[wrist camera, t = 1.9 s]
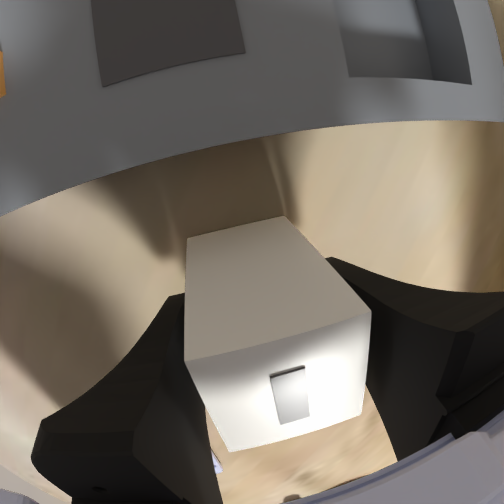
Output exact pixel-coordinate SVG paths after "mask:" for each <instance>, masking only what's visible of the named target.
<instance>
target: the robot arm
mask: <svg viewBox="0 0 504 504" xmlns="http://www.w3.org/2000/svg"><path fill="white" fill-rule="evenodd" d="M325 259H326V260H327V262H328V263H329V264H330V265H331V266H332V267H333V268H334V269H335V270H336V271H337V273H338V274H339V275H340V276H341V277H342V278H343V279H344V280H345V281H346V283H347V284H348V285H349V286H350V287H351V288H352V289H353V290H354V291H355V293H356V294H357V295H358V296H359V297H360V298H361V299H362V301H363V302H364V303H365V304H366V305H367V306H368V307H369V309H370V310H371V311H372V312H371V329H370V342H369V354H368V364H367V373H366V382H365V384H366V386H367V388H368V390H369V392H370V394H371V396H372V399H373V401H374V403H375V405H376V407H377V410H378V412H379V414H380V416H381V419H382V421H383V423H384V426H385V428H386V431H387V433H388V436H389V438H390V441H391V444H392V446H393V449H394V452H395V455H396V458H397V461H398V462H396V463H394V464H392V465H390V466H388V467H386V468H383V469H381V470H379V471H377V472H374V473H372V474H370V475H367V476H365V477H362V478H360V479H357V480H355V481H352V482H349V483H347V484H344V485H341V486H338V487H336V488H333V489H330V490H327V491H324V492H321V493H317V494H314V495H311V496H307V497H304V498H300V499H297V500H293V501H289V502H285V503H281V504H504V292H488V293H470V292H454V291H445V290H438V289H431V288H425V287H421V286H416V285H412V284H408V283H404V282H400V281H397V280H394V279H391V278H388V277H384V276H382V275H379V274H376V273H373V272H371V271H368V270H365V269H363V268H360V267H358V266H355V265H353V264H350V263H348V262H345V261H342V260H340V259H337V258H333V257H329V258H325ZM184 315H185V293H182V294H177V295H173V296H169V297H168V298H167V300H166V301H165V303H164V304H163V306H162V307H161V309H160V310H159V312H158V314H157V315H156V317H155V318H154V319H153V321H152V322H151V324H150V325H149V327H148V328H147V330H146V331H145V332H144V334H143V335H142V336H141V338H140V339H139V340H138V342H137V343H136V344H135V346H134V347H133V348H132V349H131V350H130V352H129V353H128V354H127V355H126V356H125V357H124V358H123V359H122V360H121V361H120V363H119V364H118V365H117V366H116V367H115V368H114V369H113V370H112V371H110V372H109V373H108V374H107V375H106V376H105V377H104V378H103V379H102V380H100V381H99V382H98V383H97V384H96V385H95V386H94V387H92V388H91V389H90V390H88V391H87V392H86V393H85V394H83V395H82V396H80V397H79V398H78V399H76V400H75V401H73V402H72V403H70V404H69V405H67V406H66V407H64V408H62V409H61V410H59V411H57V412H55V413H54V414H52V415H50V416H49V417H47V418H45V419H43V420H42V421H41V424H40V427H39V430H38V433H37V437H36V440H35V443H34V447H33V450H32V454H31V461H32V463H33V465H34V467H35V468H36V469H37V471H38V472H39V473H40V474H41V475H42V476H44V477H45V478H46V479H47V480H48V481H50V482H51V483H52V484H54V485H55V486H57V487H58V488H59V489H61V490H62V491H64V492H65V493H66V494H68V495H69V496H71V497H72V503H71V504H223V501H222V497H221V494H220V490H219V485H218V481H217V477H216V474H217V473H221V472H222V471H223V468H222V465H221V464H220V462H219V461H218V459H217V458H216V456H215V455H214V453H213V452H212V450H211V448H210V442H209V436H208V430H207V424H206V414H205V404H204V402H203V400H202V398H201V396H200V394H199V392H198V390H197V388H196V386H195V384H194V382H193V379H192V377H191V375H190V373H189V371H188V369H187V366H186V364H185V362H184ZM0 504H39V503H37V502H36V501H34V500H33V499H31V498H29V497H27V496H25V495H22V494H19V493H15V492H11V491H8V490H4V489H0Z"/></svg>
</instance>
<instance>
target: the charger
mask: <svg viewBox="0 0 504 504" xmlns="http://www.w3.org/2000/svg"><path fill="white" fill-rule="evenodd" d="M371 312H372V311H371V310H370V309H369V307H368V306H367V305H366V304H365V303H364V302H363V301H362V299H361V298H360V297H359V296H358V295H357V294H356V293H355V291H354V290H353V289H352V288H351V287H350V286H349V285H348V284H347V283H346V281H345V280H344V279H343V278H342V277H341V276H340V275H339V274H338V273H337V271H336V270H335V269H334V268H333V267H332V266H331V265H330V264H329V263H328V262H327V260H326V259H325V258H324V257H323V256H322V255H321V254H320V253H319V252H318V251H317V250H316V248H315V247H314V246H313V245H312V244H311V243H310V242H309V241H308V240H307V239H306V238H305V237H304V236H303V235H302V234H301V232H300V231H299V230H298V229H297V228H296V227H295V226H294V225H293V224H292V223H291V222H290V221H289V220H288V219H287V218H286V217H285V216H280V217H276V218H271V219H267V220H262V221H258V222H254V223H249V224H245V225H241V226H236V227H232V228H228V229H223V230H219V231H215V232H211V233H207V234H202V235H198V236H194V237H190V238H187V253H186V277H185V315H184V362H185V364H186V366H187V369H188V371H189V373H190V375H191V377H192V379H193V382H194V384H195V386H196V388H197V390H198V392H199V394H200V396H201V398H202V400H203V402H204V404H205V406H206V408H207V410H208V412H209V414H210V416H211V418H212V420H213V422H214V424H215V426H216V428H217V430H218V432H219V434H220V436H221V437H222V439H223V441H224V443H225V445H226V447H227V448H228V450H229V452H233V451H239V450H243V449H248V448H253V447H257V446H261V445H266V444H270V443H274V442H278V441H281V440H285V439H289V438H292V437H296V436H299V435H303V434H306V433H309V432H312V431H316V430H319V429H322V428H325V427H328V426H331V425H334V424H336V423H339V422H342V421H345V420H348V419H350V418H353V417H355V416H358V415H361V411H362V404H363V397H364V390H365V382H366V373H367V364H368V354H369V342H370V329H371Z"/></svg>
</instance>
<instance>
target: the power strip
mask: <svg viewBox="0 0 504 504" xmlns="http://www.w3.org/2000/svg"><path fill="white" fill-rule="evenodd" d="M423 120H467V121H492V122H504V65H503V60H502V55H501V50H500V45H499V40H498V36H497V32H496V28H495V24H494V21H493V17H492V13H491V10H490V7H489V4H488V0H0V216H2V215H5V214H7V213H9V212H11V211H14V210H16V209H18V208H20V207H23V206H25V205H28V204H30V203H32V202H35V201H37V200H40V199H42V198H45V197H47V196H50V195H52V194H55V193H58V192H60V191H63V190H66V189H68V188H71V187H74V186H77V185H79V184H82V183H85V182H88V181H91V180H94V179H97V178H100V177H103V176H106V175H109V174H112V173H115V172H119V171H122V170H125V169H128V168H132V167H135V166H139V165H142V164H146V163H149V162H153V161H156V160H160V159H164V158H168V157H171V156H175V155H179V154H183V153H187V152H192V151H196V150H200V149H204V148H209V147H213V146H218V145H223V144H227V143H232V142H237V141H242V140H248V139H253V138H259V137H264V136H270V135H276V134H282V133H289V132H296V131H303V130H310V129H318V128H326V127H335V126H344V125H355V124H366V123H380V122H396V121H423Z"/></svg>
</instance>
